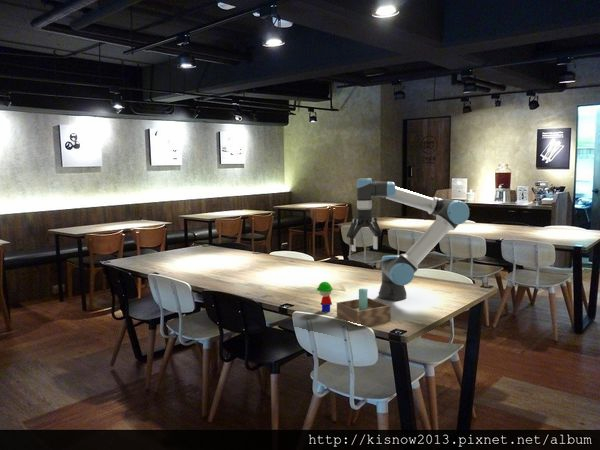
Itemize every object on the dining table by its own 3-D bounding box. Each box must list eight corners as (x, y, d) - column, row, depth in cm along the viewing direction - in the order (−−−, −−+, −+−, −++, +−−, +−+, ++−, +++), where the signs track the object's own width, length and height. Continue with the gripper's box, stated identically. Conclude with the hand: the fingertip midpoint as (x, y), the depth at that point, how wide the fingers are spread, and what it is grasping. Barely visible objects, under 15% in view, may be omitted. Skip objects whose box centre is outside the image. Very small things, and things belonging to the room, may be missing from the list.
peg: (364, 317, 235) (364, 288, 233) (369, 319, 231) (369, 289, 230) (357, 318, 233) (357, 289, 232) (362, 320, 230) (362, 291, 228)
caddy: (367, 311, 244) (367, 297, 244) (390, 320, 228) (390, 306, 228) (336, 316, 236) (336, 302, 235) (358, 327, 220) (358, 311, 219)
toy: (314, 312, 245) (313, 282, 243) (323, 308, 251) (322, 279, 250) (327, 314, 240) (326, 284, 239) (336, 310, 246) (335, 281, 245)
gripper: (379, 207, 261) (379, 247, 263) (339, 209, 249) (340, 251, 251) (388, 207, 254) (388, 248, 256) (347, 210, 242) (348, 253, 245)
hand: (364, 250), depth 254 cm, fingers open, 13 cm apart
